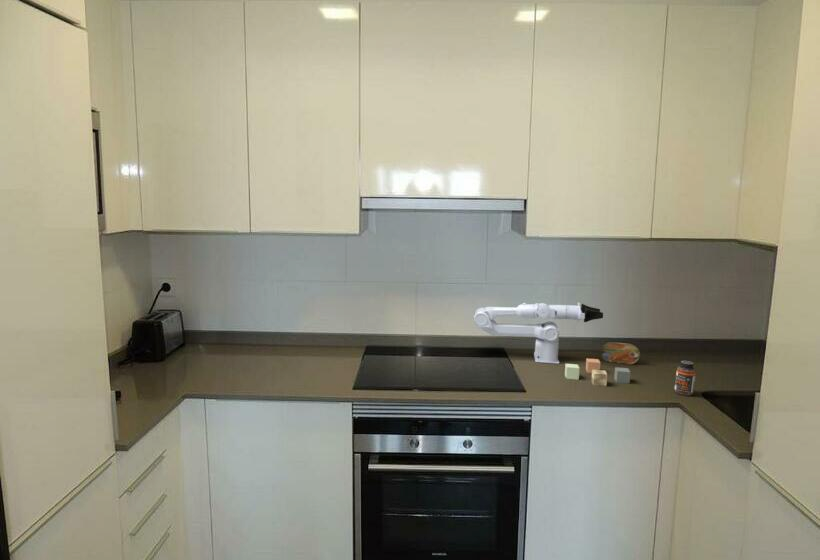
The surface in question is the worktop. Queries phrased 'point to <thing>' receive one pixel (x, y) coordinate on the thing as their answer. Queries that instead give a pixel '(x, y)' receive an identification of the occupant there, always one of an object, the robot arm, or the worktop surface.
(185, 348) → the worktop surface
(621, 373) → the slate block
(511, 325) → the robot arm
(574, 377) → the sage block
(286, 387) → the worktop surface
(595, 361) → the terracotta block
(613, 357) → the tin
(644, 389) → the worktop surface
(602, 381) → the maple block
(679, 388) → the supplement bottle
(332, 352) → the worktop surface
